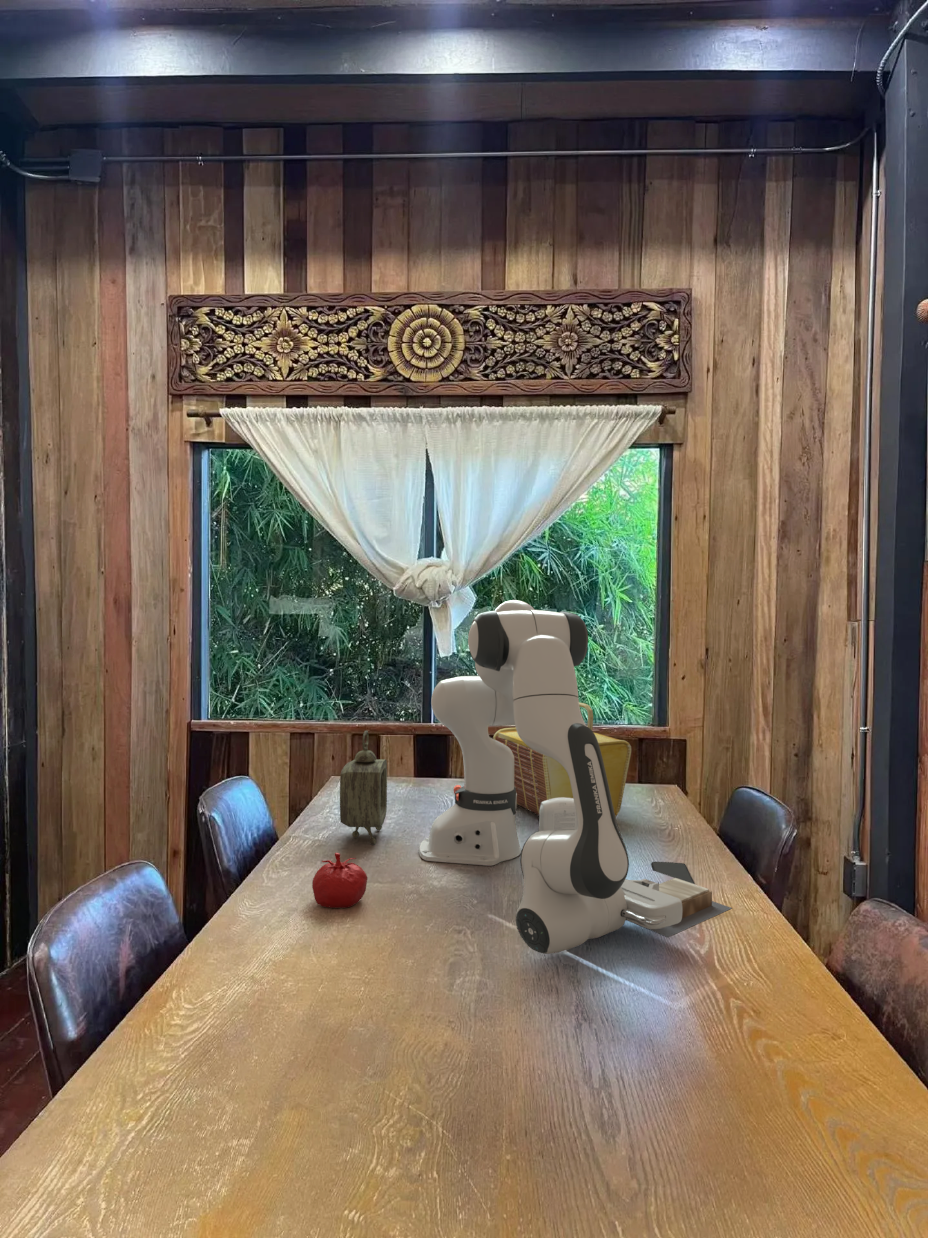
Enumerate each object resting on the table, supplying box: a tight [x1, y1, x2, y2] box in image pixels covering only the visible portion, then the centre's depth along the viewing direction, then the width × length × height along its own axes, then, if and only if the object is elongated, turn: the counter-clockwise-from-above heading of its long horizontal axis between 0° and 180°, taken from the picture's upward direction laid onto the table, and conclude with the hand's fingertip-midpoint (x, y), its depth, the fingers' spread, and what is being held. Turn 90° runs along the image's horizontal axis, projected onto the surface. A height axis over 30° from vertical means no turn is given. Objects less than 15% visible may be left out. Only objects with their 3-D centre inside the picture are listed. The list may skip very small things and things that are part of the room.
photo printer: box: [538, 798, 578, 831], centre depth 172 cm, size 10×4×12 cm, turn 98°
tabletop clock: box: [339, 730, 388, 846], centre depth 182 cm, size 14×9×25 cm, turn 179°
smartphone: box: [650, 861, 696, 885], centre depth 158 cm, size 7×1×15 cm
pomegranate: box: [311, 852, 368, 909], centre depth 144 cm, size 10×10×9 cm
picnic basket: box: [492, 702, 632, 817], centre depth 204 cm, size 29×26×30 cm
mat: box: [626, 900, 733, 938], centre depth 140 cm, size 19×14×1 cm
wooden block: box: [659, 878, 713, 918], centre depth 141 cm, size 3×8×12 cm
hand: (652, 885), depth 137 cm, fingers closed
